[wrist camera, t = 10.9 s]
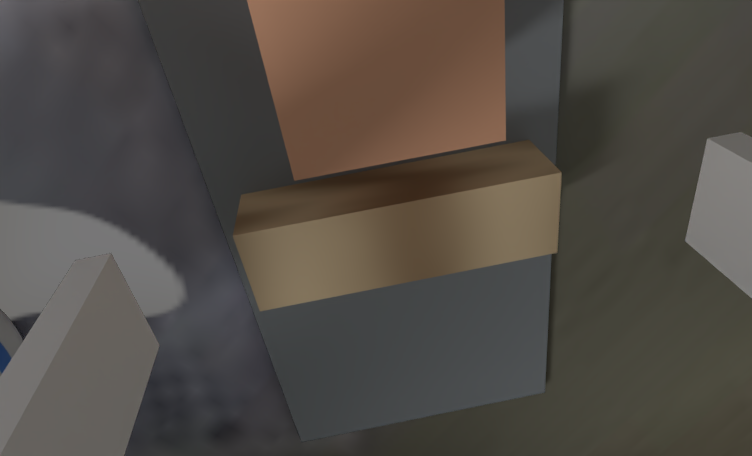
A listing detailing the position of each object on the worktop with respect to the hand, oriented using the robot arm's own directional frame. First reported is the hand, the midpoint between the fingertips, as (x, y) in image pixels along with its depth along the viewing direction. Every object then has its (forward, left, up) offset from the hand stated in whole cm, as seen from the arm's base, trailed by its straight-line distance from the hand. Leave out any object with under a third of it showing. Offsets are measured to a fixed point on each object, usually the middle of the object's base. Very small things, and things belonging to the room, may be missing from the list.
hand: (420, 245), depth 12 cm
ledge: (0, -2, -7) cm, 7 cm away
